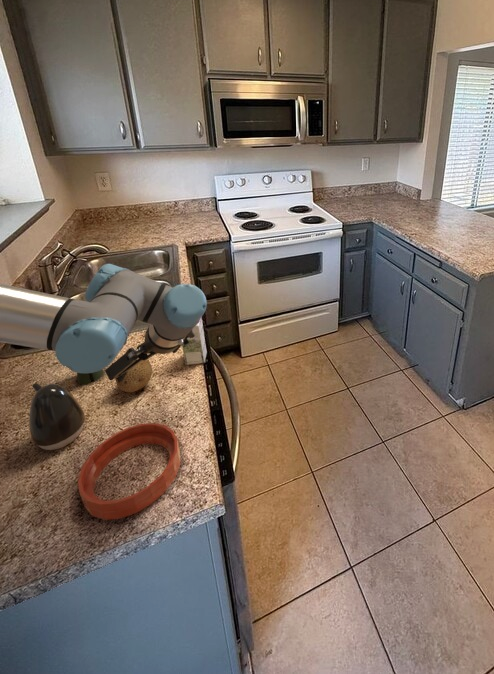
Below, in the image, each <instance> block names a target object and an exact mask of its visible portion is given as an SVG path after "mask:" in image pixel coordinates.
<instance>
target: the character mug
mask: <svg viewBox="0 0 494 674" xmlns="http://www.w3.org/2000/svg"><path fill="white" fill-rule="evenodd" d="M103 375H104V369H102V370H100V371H97V372H93V373H77V372H76V376H77V382H78V383H79V384H80V385H89V384H92V382H91V381H93V382H97V381H98V380H100V379H101V378H102V377H103Z"/></svg>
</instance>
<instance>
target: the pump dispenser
mask: <svg viewBox="0 0 494 674" xmlns="http://www.w3.org/2000/svg"><path fill="white" fill-rule="evenodd" d="M31 387H32V388H33V390H34V391H35V394H34V395H33V397H32V399H31V402H30V407H29V415H28V420H29V422H28V423H29V425H28V427H29V434H30V438H31V442H32V443H33V444H34V445H36V446H37V447H39V448H41V449H43V450H46V451H54V450H55V451H56V450H58V449H62V448H64V447H66V446H68V445H70V444H71V443H72V442H74V441H75V440H76V439H77V438H78V437H79V436H80V434H81V433H82V431H83V428H84V425H85V420H86V414H85V411H84V409H83V408H82V405H81V404H80V403H79V401H78V400H77V398H76V397H75V396H74V395H73V394H72V392H71V391H69V390H68V389H67V388H65V387H64V386H62V385H60V384H57V383H49V384H45V385H43V386H42V385H40V384H39V383H38V382H34V383H33V384H32V385H31Z"/></svg>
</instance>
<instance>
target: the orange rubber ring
mask: <svg viewBox="0 0 494 674" xmlns="http://www.w3.org/2000/svg"><path fill="white" fill-rule="evenodd" d="M147 444H154V445H159V446H162V447H163V448H165V449H166V450H167V451H168V453H169V459H168V462H167V465H166V467H165V469H164V470H163V471H162V473H161V474H160V475H159V476H157V478H155V479H154V480H153V481H152V482H151V483H149V484H148V486H146V487H144V488H142V489H140V490H139V491H137V492H135V493H134V494H132V495H129V496H126V497H122V498H119V499H116V500H115V499H114V500H103V499H101V498H99V497H98V496H97V495H96V493H95V487H96V484H97V483H96V482H97V480H98V478H99V476H100V475H101V473H102V471H103V470H104V469H105V468H106V467H107V466H108V464H109V463H110V462H111V461H113V460H114V459H115V458H117V457H118V456H119V455H120V454H122V453H124V452H126V451H127V450H129V449H131V448H134V447H137V446H141V445H147ZM179 445H180V444H179V440H178V438H177V435H176V434H175V431H174V430H172V428H170V427H168V425H165V424H161V423H158V422H157V423H156V422H148V423H140V424H136V425H132V426H129V427H127V428H125V429H122V430H120V431H118V432H116V433H114V434H112V435H111V436H110V437H108V438H106V439H105V440H104V441H103V442H101V443H100V444H99V445H98V446H97V447H96V448H94V450H93V451H91V453H90V454H89V455H88V457H87V458H86V460H85V461H84V462H83V465H82V467H81V468H80V471H79V475H78V477H77V478H78V479H77V485H78V492H79V494H80V499H81V501H82V504H83V507H84V508H85V510H86V511H87V512H88V513H89V514H90V515H91V516H92V517H94V518H98V519H101V520H105V521H106V520H120V519H123V518H127V517H129V516H131V515H135V514H137V513H139V512H141V511H142V510H144V509H145V508H147V507H149V506H150V505H153V504H154V503H155V502H156V501H158V499H159V498H160V497H161V496H163V494H164V493H165V492H166V491H167V490H168V489H169V488H170V486H171V485H172V484H173V482H174V480H176V477H177V475H178V472H179V470H180V466H181V450H180V446H179Z"/></svg>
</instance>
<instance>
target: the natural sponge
mask: <svg viewBox="0 0 494 674" xmlns="http://www.w3.org/2000/svg"><path fill="white" fill-rule="evenodd" d="M152 375H153V366H152V364H151V361H149V359H147V360H142V361H141V362H140V363H138V364H137V365H135V366H134V367H133V368H131V369H130V370H128V371H127V374H126V375H125V377H124V379H123V380H122V381H121V382H118V381H117V379H115V383H116V386H117V388H118V389H119V390H120V391H122V392H124V393H125V392H126V393H134V392H136V391H139V390H141V389H144V388H145V387H146V385H147V384H148V383H149V381H150V379H151V377H152Z"/></svg>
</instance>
